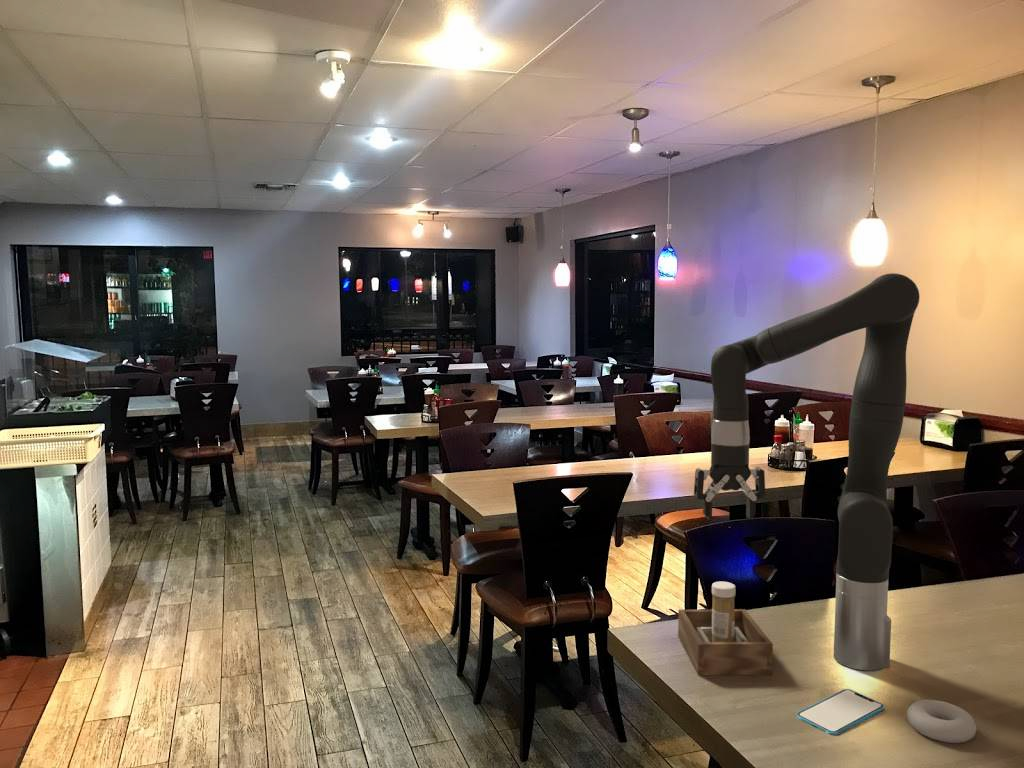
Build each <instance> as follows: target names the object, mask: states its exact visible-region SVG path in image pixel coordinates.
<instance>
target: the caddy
mask: <svg viewBox="0 0 1024 768" xmlns="http://www.w3.org/2000/svg"><path fill="white" fill-rule="evenodd" d="M677 623H678V625H677V627H678V628H677V629H678V630H677V636H678V637H679V638H678V637H677V638H678V639H680V640H679V642H680V641H681V642H680V643H682V644H681V646H682V647H683V649H684V651H685V653H686V655H687V657H688V659H689V661H690V663H691V665H692V666H693V668H694V670H695V672H696V674H697V676H727V675H728V676H731V675H732V676H745V675H746V676H748V675H753V676H754V675H755V676H756V675H758V676H759V675H766V676H767V675H773V654H774V653H773V650H774V649H773V648H774V644H773V643H772V641H771V639H769V637H768V636H767V635H766V634H765V632H764V631H763V630H762V628H761V627H760V625H758V624H757V622H756V621H755V620H754V619H753V617H752V616H751V615H750V614H749V612H748V611H747V610H746V609H745V608H744V609H743V608H738V609H737V608H734V642H712V608H710V609H678V622H677Z"/></svg>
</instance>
